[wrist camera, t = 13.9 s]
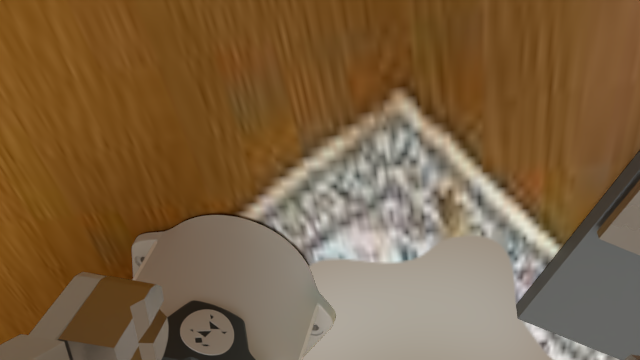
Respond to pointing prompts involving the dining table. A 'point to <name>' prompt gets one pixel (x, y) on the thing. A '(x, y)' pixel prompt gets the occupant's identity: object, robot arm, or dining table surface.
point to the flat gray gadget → (624, 223)
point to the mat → (592, 284)
